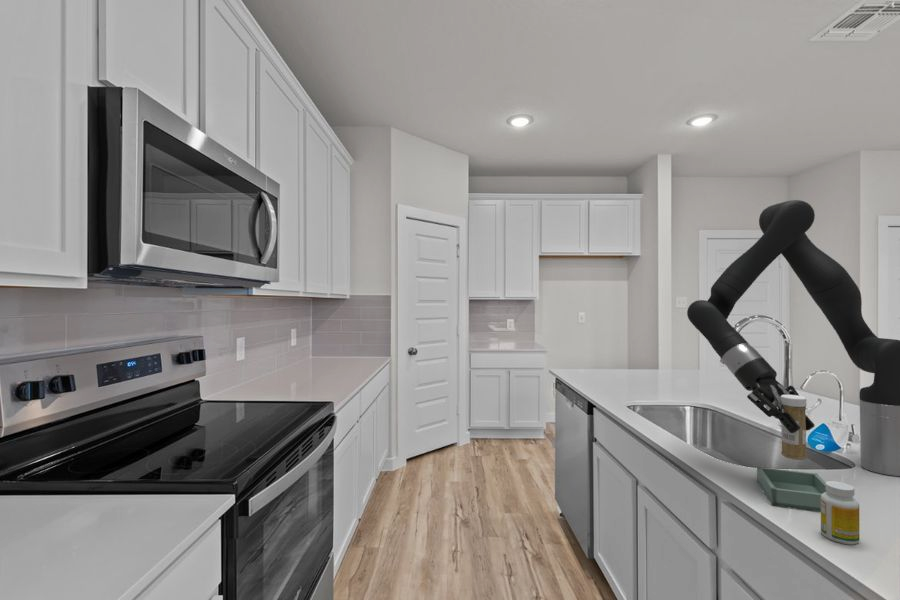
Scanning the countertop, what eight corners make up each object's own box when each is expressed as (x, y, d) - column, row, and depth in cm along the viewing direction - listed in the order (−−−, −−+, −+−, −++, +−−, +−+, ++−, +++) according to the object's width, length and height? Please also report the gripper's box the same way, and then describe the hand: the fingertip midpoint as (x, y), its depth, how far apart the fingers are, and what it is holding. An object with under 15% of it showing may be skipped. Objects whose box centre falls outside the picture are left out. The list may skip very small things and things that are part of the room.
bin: (757, 481, 108) (756, 466, 108) (817, 488, 104) (817, 473, 104) (772, 505, 96) (771, 488, 96) (841, 514, 91) (841, 497, 91)
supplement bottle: (813, 532, 84) (812, 481, 84) (835, 528, 86) (834, 477, 86) (845, 547, 79) (844, 492, 79) (867, 543, 80) (866, 489, 81)
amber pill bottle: (812, 460, 98) (812, 397, 98) (793, 461, 97) (793, 398, 97) (793, 452, 102) (793, 393, 102) (775, 453, 102) (775, 394, 102)
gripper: (738, 358, 104) (795, 424, 93) (779, 355, 109) (837, 417, 98) (717, 377, 109) (769, 442, 98) (757, 373, 114) (810, 434, 103)
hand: (803, 429), depth 98 cm, fingers closed on amber pill bottle, 4 cm apart
